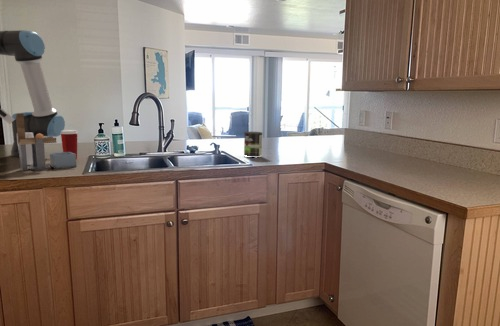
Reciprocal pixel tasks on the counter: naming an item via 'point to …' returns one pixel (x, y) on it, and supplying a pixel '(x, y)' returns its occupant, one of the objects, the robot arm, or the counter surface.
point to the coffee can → (253, 143)
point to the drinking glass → (28, 148)
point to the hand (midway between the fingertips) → (12, 121)
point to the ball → (39, 136)
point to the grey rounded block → (63, 160)
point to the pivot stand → (38, 156)
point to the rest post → (23, 157)
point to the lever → (21, 132)
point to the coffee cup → (69, 141)
